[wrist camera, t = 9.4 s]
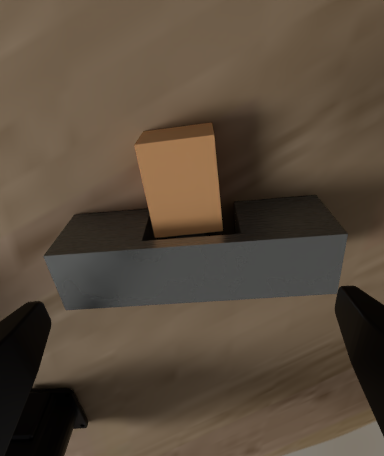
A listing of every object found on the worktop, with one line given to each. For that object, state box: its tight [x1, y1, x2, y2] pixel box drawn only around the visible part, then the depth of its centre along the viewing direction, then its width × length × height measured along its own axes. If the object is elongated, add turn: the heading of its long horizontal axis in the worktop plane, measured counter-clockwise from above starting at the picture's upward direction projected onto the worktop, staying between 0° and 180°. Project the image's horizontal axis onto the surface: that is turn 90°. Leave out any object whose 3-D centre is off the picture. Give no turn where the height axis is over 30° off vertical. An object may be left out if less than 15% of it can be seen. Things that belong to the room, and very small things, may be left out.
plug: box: [134, 122, 223, 238], centre depth 19 cm, size 10×4×3 cm, turn 7°
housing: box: [43, 195, 348, 310], centre depth 19 cm, size 4×16×5 cm, turn 96°
